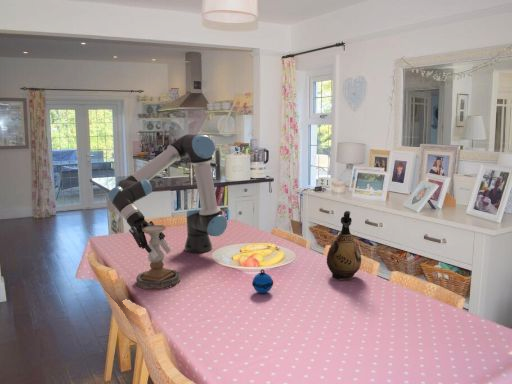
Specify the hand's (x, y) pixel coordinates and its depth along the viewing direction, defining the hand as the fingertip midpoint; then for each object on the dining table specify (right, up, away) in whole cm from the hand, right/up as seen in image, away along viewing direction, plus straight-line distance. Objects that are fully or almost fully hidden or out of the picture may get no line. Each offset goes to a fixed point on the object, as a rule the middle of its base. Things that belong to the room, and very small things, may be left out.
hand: (162, 254), depth 207 cm
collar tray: (-3, -13, +4) cm, 14 cm away
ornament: (+44, -15, -11) cm, 48 cm away
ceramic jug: (+81, -11, +7) cm, 82 cm away
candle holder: (-3, -12, +3) cm, 13 cm away
